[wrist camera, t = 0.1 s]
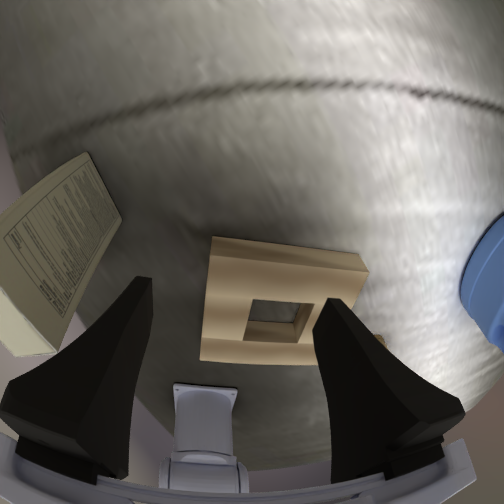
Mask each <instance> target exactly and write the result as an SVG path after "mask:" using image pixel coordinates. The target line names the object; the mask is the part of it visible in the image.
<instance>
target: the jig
mask: <svg viewBox="0 0 504 504" xmlns="http://www.w3.org/2000/svg"><path fill="white" fill-rule="evenodd" d="M369 273H370V272H369V271H368V269H367V267H366V266H365V264H364V262H363V261H362V259H361V258H360V256H359V254H352V253H345V252H337V251H329V250H321V249H314V248H306V247H298V246H290V245H282V244H274V243H266V242H258V241H249V240H241V239H233V238H224V237H216V236H212V242H211V251H210V259H209V267H208V276H207V285H206V295H205V304H204V315H203V325H202V336H201V349H200V360H203V361H214V362H227V363H243V364H266V365H318V362H317V358H316V354H315V350H314V343H313V334H312V329H313V327H314V325H315V323H316V321H317V319H318V317H319V315H320V313H321V310H322V308H323V306H324V304H325V302H326V300H327V298H340V299H341V300H342V301H343V302H344V303H345V304H346V305H347V306H348V307H349V308H350V309H352V307H353V305H354V303H355V301H356V299H357V297H358V295H359V293H360V291H361V289H362V287H363V285H364V283H365V281H366V279H367V277H368V275H369ZM253 299H259V300H271V301H284V302H298V303H301V304H300V307H299V309H298V312H297V315H296V317H295V320H294V322H293V323H277V322H261V321H248V316H249V312H250V308H251V304H252V300H253Z"/></svg>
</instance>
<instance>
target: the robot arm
mask: <svg viewBox="0 0 504 504" xmlns="http://www.w3.org/2000/svg"><path fill="white" fill-rule="evenodd" d="M152 319H153V299H152V278H148V277H141V276H136V277H135V278H134V279H133V280H132V282H131V283H130V284H129V285H128V287H127V288H126V289H125V290H124V291H123V292H122V294H121V295H120V296H119V297H118V298H117V299H116V300H115V302H114V303H113V304H112V305H111V306H110V307H109V308H108V309H107V310H106V311H105V312H104V313H103V314H102V315H101V316H100V317H99V318H98V319H97V320H96V321H95V322H94V323H93V324H92V325H91V326H90V327H89V328H88V329H87V330H86V331H85V332H84V333H83V334H82V335H80V336H79V337H78V338H77V339H76V340H75V341H73V342H72V343H71V344H70V345H68V346H67V347H66V348H64V349H63V350H62V351H60V352H59V353H58V354H56V355H55V356H53V357H52V358H50V359H49V360H47V361H46V362H44V363H42V364H41V365H39V366H38V367H36V368H34V369H33V370H31V371H29V372H27V373H25V374H23V375H21V376H19V377H17V378H15V379H13V380H11V381H9V383H8V385H7V387H6V389H5V392H4V395H3V398H2V400H1V403H0V418H1V419H2V420H3V421H4V422H5V423H6V424H7V425H8V426H9V427H10V428H11V429H13V430H14V431H15V432H16V433H17V434H18V435H19V439H18V442H17V441H16V440H14V439H12V438H11V437H9V436H7V435H5V434H3V433H1V432H0V497H1V498H3V499H5V500H6V501H8V502H10V503H11V504H135V503H133V502H132V501H136V502H141V503H147V504H316V503H321V502H327V501H332V500H336V499H341V498H345V497H350V496H352V497H351V499H350V500H348V501H344V502H341V503H337V504H441V503H442V502H444V501H445V500H446V499H448V498H450V497H451V496H453V495H454V494H456V493H457V492H459V491H460V490H462V489H463V488H465V487H466V486H468V485H469V484H471V483H472V482H474V481H475V480H476V479H477V477H476V474H475V471H474V468H473V465H472V462H471V459H470V456H469V454H468V451H467V448H466V445H465V443H464V440H463V439H460V440H458V441H455V442H453V443H451V444H449V445H447V446H445V447H443V448H442V446H441V443H442V442H444V438H443V434H444V433H446V432H447V431H448V430H450V429H451V428H452V427H454V426H455V425H456V424H458V423H459V422H460V421H461V420H462V419H463V418H464V416H465V411H464V409H463V406H462V404H461V402H460V400H459V398H457V397H455V396H453V395H451V394H449V393H447V392H445V391H443V390H441V389H439V388H438V387H436V386H434V385H433V384H431V383H429V382H428V381H426V380H425V379H423V378H422V377H420V376H419V375H418V374H416V373H415V372H413V371H412V370H411V369H409V368H408V367H407V366H406V365H404V364H403V363H402V362H401V361H400V360H399V359H397V358H396V357H395V356H394V355H393V354H392V353H391V352H390V351H389V350H388V349H387V348H386V347H385V346H384V345H383V344H382V343H381V342H380V341H379V340H378V339H377V338H376V337H375V336H374V335H373V334H372V333H371V332H370V331H369V330H368V328H367V327H366V326H365V325H364V324H363V323H362V322H361V321H360V320H359V318H358V317H357V316H356V315H355V314H354V313H353V312H352V311H351V309H350V308H349V307H348V306H347V305H346V304H345V303H344V302H343V301H342V300H341V299H340V298H327V300H326V302H325V304H324V306H323V308H322V310H321V313H320V315H319V317H318V319H317V321H316V323H315V325H314V327H313V329H312V334H313V343H314V350H315V354H316V358H317V362H318V366H319V370H320V373H321V377H322V381H323V385H324V389H325V392H326V397H327V402H328V410H329V418H330V429H331V448H332V464H331V484H330V485H325V486H319V487H312V488H305V489H297V490H289V491H277V492H262V493H249V479H248V473H247V469H246V467H245V466H244V465H243V464H242V463H240V462H236V456H233V443H232V417H231V412H232V408H233V405H234V402H235V399H236V396H237V389H235V388H221V387H207V386H196V385H186V384H177V383H176V384H174V385H173V390H174V402H175V413H176V419H175V433H174V448H173V452H172V454H171V458H168V457H166V458H165V459H164V460H162V461H161V465H160V473H159V488H158V487H152V486H146V485H140V484H135V483H130V482H125V481H120V480H122V479H124V478H126V477H127V476H128V463H129V439H130V426H131V416H132V407H133V400H134V392H135V387H136V382H137V379H138V375H139V371H140V368H141V364H142V360H143V357H144V353H145V350H146V346H147V343H148V339H149V336H150V330H151V324H152ZM109 477H110V478H109ZM112 478H114V479H112ZM117 479H120V480H117Z"/></svg>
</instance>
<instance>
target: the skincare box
mask: <svg viewBox="0 0 504 504" xmlns="http://www.w3.org/2000/svg"><path fill="white" fill-rule="evenodd" d="M121 223H122V218H121V216H120V214H119V212H118V210H117V209H116V207H115V205H114V203H113V201H112V199H111V197H110V195H109V193H108V191H107V189H106V187H105V185H104V183H103V181H102V179H101V177H100V176H99V174H98V172H97V170H96V168H95V166H94V164H93V162H92V160H91V158H90V156H89V154H88V153H87V152H85V153H83V154H81V155H79V156H77V157H75V158H73V159H72V160H70V161H68V162H67V163H65V164H63V165H62V166H60V167H59V168H57V169H56V170H54V171H53V172H52V173H50V174H49V175H48V176H46V177H45V178H43V179H42V180H41V181H40V182H38V183H37V184H36V185H34V186H33V187H32V188H31V189H30V190H28V191H27V192H26V193H25V194H23V195H22V196H21V197H20V198H19V199H18V200H16V201H15V202H14V203H13V204H12V205H11V206H10V207H8V208H7V209H6V210H5V211H4V212H3V213H2V214H1V215H0V342H1V343H2V344H3V345H4V346H5V347H6V348H7V349H8V350H9V351H10V352H11V353H12V354H13V355H14V356H15V357H28V356H42V355H53V354H57V353H58V351H59V348H60V346H61V343H62V340H63V338H64V335H65V333H66V331H67V328H68V326H69V323H70V321H71V319H72V317H73V314H74V312H75V310H76V308H77V306H78V303H79V301H80V299H81V297H82V295H83V293H84V291H85V289H86V287H87V285H88V283H89V281H90V279H91V277H92V275H93V273H94V271H95V269H96V267H97V265H98V263H99V261H100V259H101V257H102V256H103V254H104V252H105V250H106V248H107V247H108V245H109V243H110V241H111V240H112V238H113V236H114V234H115V233H116V231H117V229H118V228H119V226H120V224H121Z"/></svg>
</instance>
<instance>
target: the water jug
mask: <svg viewBox="0 0 504 504" xmlns="http://www.w3.org/2000/svg"><path fill="white" fill-rule="evenodd" d="M461 301H462V304H463V306H464V308H465V310H466V311H467V312H468V314H469V315H470V317H471V318H473V319H474V320H475V322H476V323H477V325H478V326H479V328H480V329H481V331H482V332H483V334H484V335H485V337H486V338H487V340H488V341H489V342H490V343H492V344H495V345H496V346H498V347H499V348H500V349H501V350H502V352H503V354H504V215H503V216H502V217H501V218H500V219H499V220H498V221H497V222H496V223H495V224H494V225H493V226H492V227H491V228H490V229H489V231H488V232H487V233H486V234H485V236H484V237H483V239H482V240H481V242H480V243H479V245H478V246H477V248H476V250H475V251H474V253H473V255H472V257H471V259H470V261H469V263H468V266H467V268H466V271H465V274H464V277H463V281H462V286H461Z"/></svg>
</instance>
